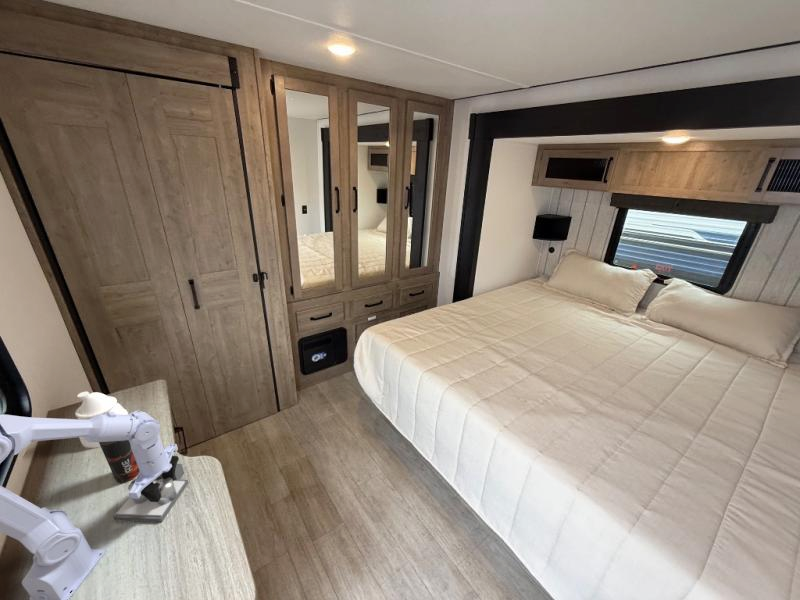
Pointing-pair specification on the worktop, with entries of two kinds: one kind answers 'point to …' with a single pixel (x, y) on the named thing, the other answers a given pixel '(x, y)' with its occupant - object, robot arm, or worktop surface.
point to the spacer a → (141, 498)
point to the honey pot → (96, 410)
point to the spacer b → (166, 490)
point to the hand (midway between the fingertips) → (162, 490)
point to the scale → (151, 503)
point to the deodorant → (120, 460)
